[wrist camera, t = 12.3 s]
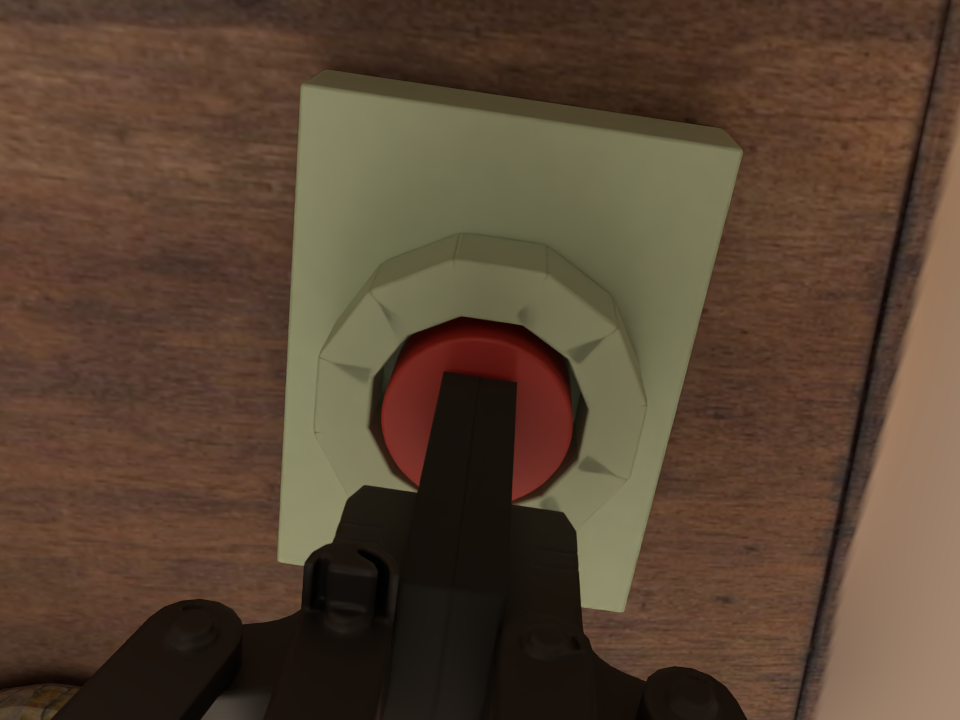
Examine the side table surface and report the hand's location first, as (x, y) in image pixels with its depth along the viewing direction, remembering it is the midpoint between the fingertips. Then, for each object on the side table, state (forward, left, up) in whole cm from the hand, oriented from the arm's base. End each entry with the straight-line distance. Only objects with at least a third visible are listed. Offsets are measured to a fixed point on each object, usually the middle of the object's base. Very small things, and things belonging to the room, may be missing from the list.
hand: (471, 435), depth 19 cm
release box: (0, 0, -5) cm, 5 cm away
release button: (0, 0, -2) cm, 2 cm away
